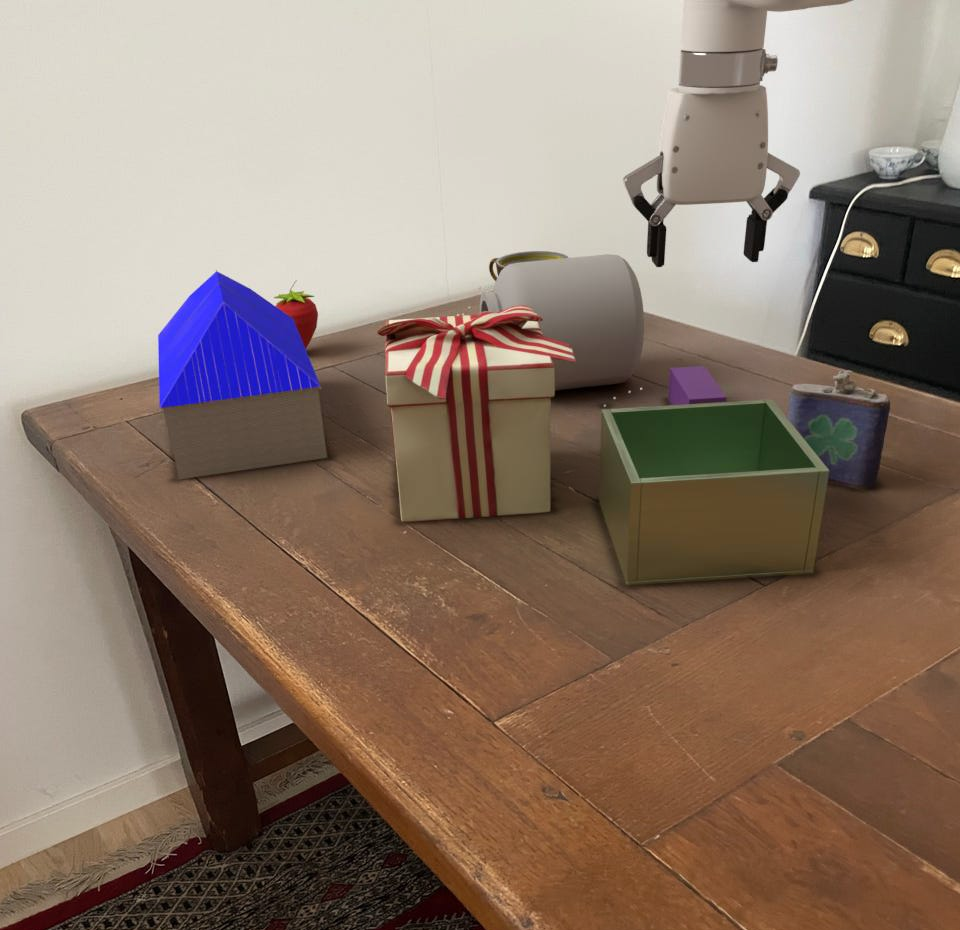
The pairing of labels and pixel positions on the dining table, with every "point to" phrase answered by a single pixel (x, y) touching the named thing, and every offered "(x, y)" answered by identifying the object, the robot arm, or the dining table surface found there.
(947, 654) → the dining table surface
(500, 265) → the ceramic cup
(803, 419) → the flask
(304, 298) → the strawberry
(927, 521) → the dining table surface
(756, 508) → the open box
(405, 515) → the gift box
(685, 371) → the purple block
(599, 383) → the jar
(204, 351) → the house
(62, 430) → the dining table surface
